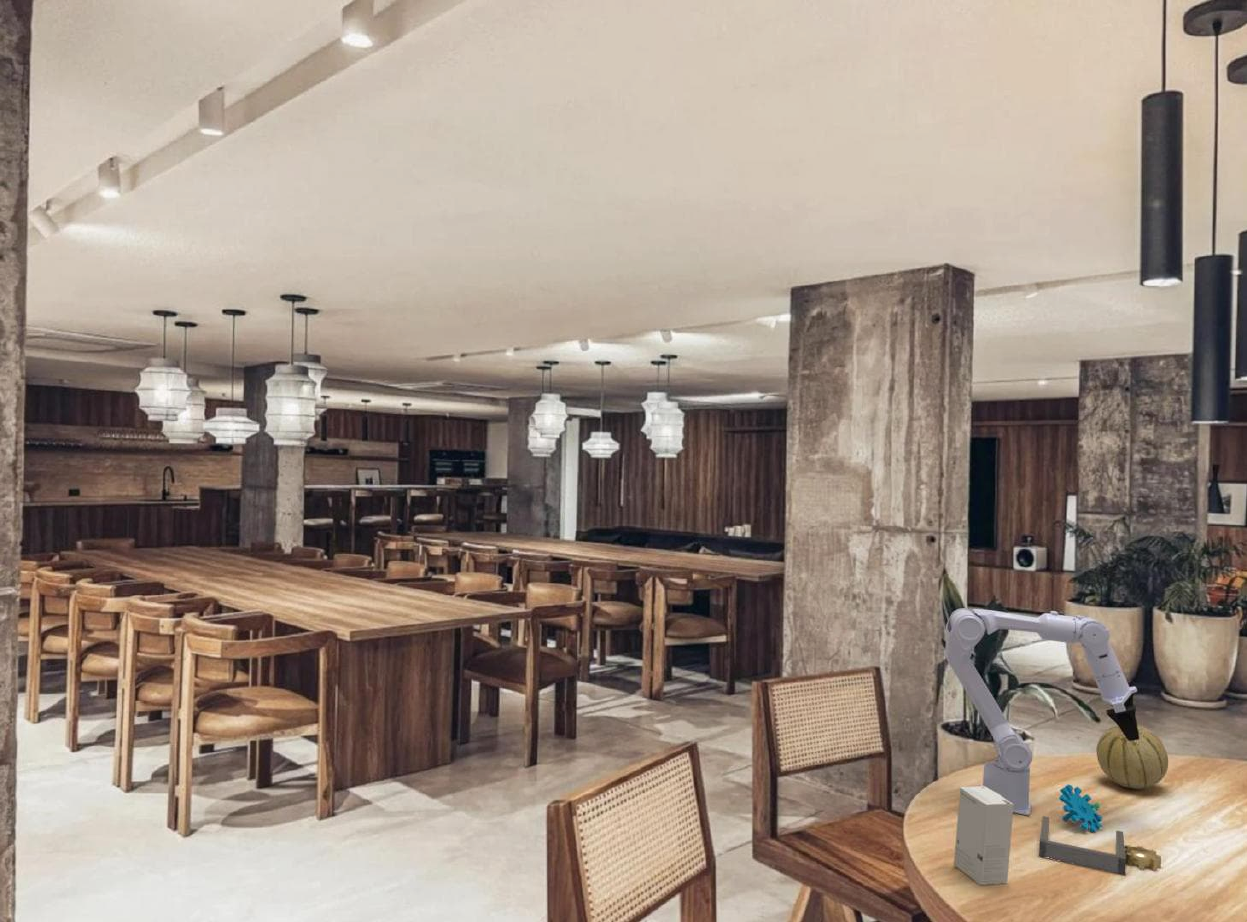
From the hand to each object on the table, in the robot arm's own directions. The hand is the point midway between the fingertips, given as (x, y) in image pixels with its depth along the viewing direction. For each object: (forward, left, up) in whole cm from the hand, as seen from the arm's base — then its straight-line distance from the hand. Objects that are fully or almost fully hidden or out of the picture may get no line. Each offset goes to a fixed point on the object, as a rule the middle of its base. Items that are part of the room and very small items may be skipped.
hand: (1133, 733), depth 190 cm
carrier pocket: (-6, -23, -19) cm, 31 cm away
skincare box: (-25, -45, -19) cm, 55 cm away
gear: (-9, -9, -19) cm, 23 cm away
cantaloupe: (+1, +24, -19) cm, 31 cm away
